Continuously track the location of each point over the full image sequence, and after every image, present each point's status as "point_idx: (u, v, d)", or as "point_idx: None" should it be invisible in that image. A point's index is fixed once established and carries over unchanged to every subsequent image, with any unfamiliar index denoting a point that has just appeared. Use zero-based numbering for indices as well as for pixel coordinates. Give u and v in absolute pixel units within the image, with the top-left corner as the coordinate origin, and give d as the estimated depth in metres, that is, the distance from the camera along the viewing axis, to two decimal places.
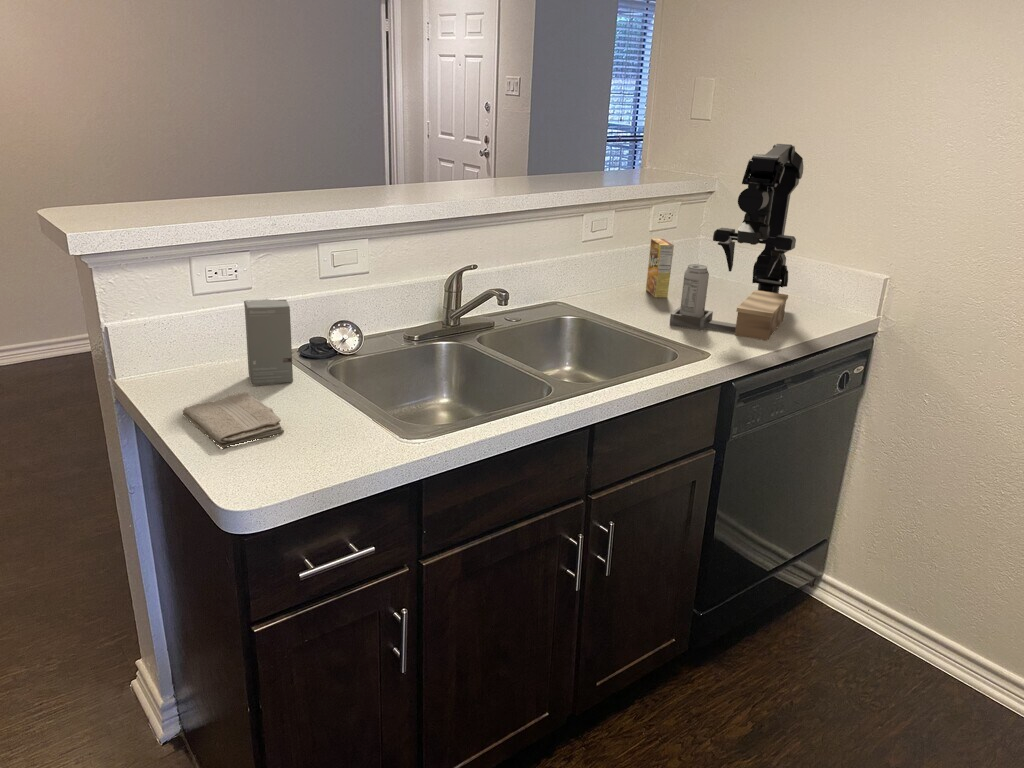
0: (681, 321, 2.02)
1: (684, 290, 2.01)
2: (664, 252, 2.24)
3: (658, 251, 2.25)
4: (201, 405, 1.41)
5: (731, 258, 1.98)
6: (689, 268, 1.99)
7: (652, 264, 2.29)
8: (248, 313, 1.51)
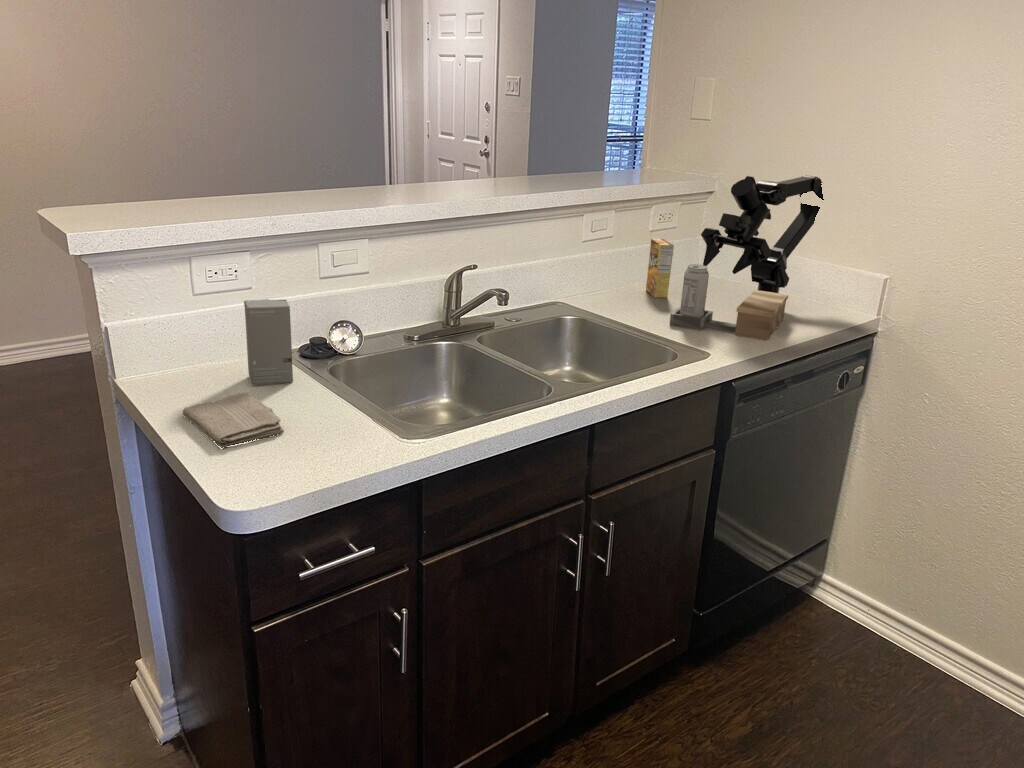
0: (681, 321, 2.02)
1: (684, 290, 2.01)
2: (664, 252, 2.24)
3: (658, 251, 2.25)
4: (201, 405, 1.41)
5: (709, 255, 2.09)
6: (689, 268, 1.99)
7: (652, 264, 2.29)
8: (248, 313, 1.51)
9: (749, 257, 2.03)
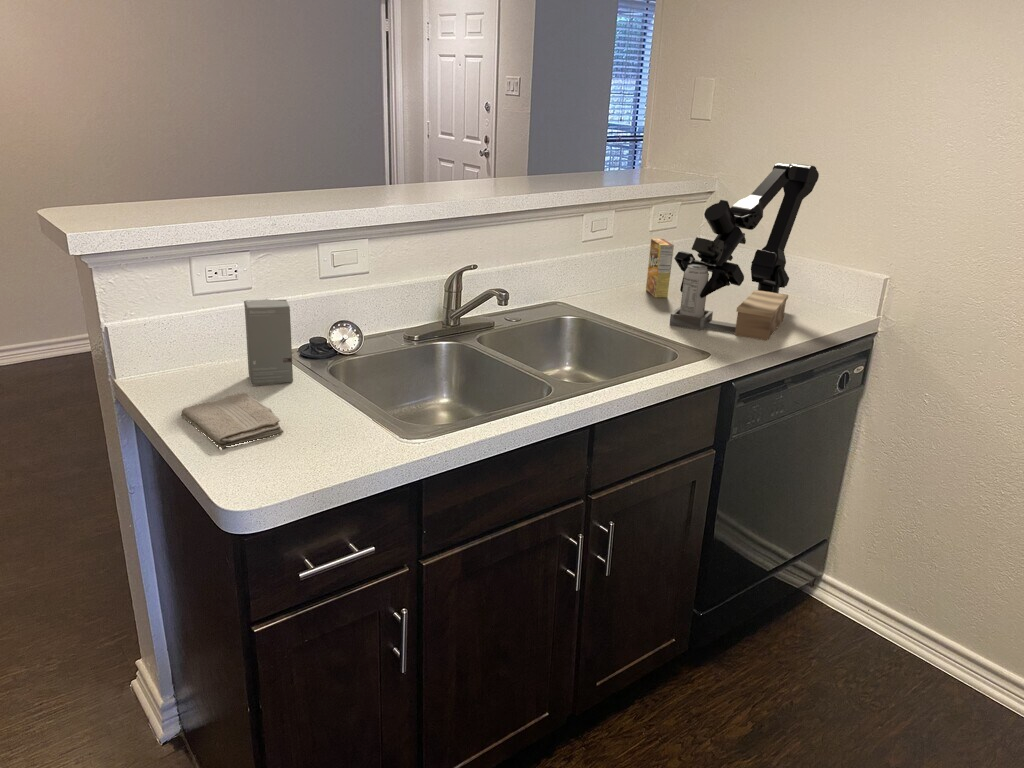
0: (681, 321, 2.02)
1: (684, 290, 2.01)
2: (664, 252, 2.24)
3: (658, 251, 2.25)
4: (200, 405, 1.41)
5: None
6: (689, 268, 1.99)
7: (652, 264, 2.29)
8: (248, 313, 1.51)
9: (717, 281, 2.00)
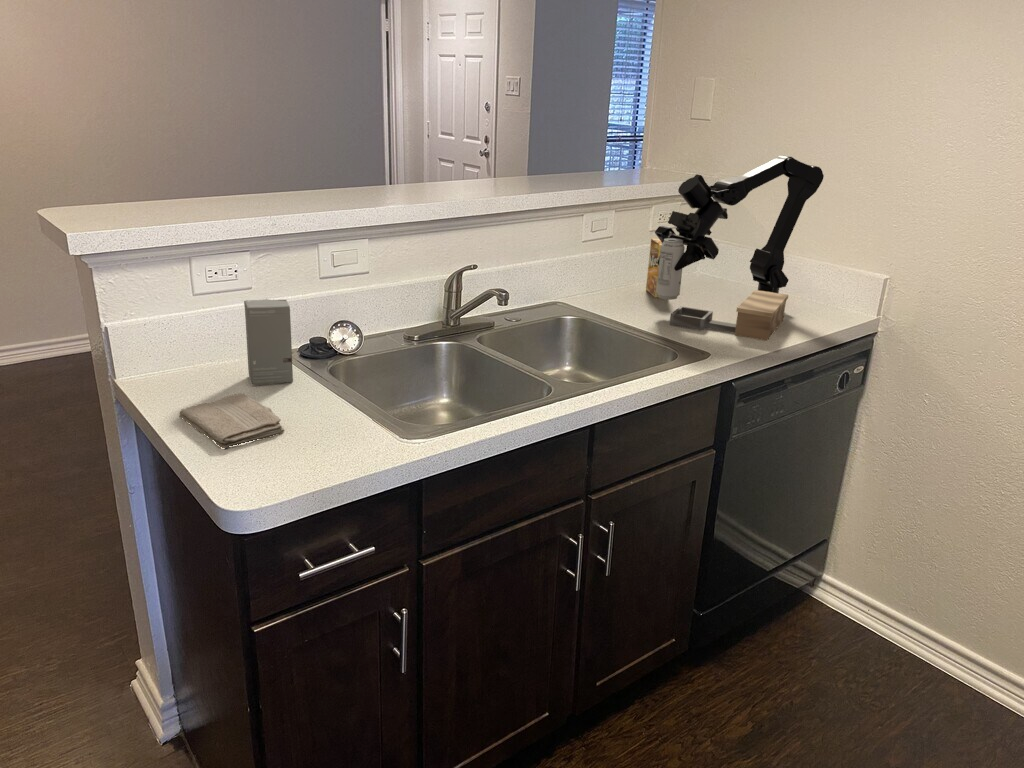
0: (681, 321, 2.02)
1: (660, 263, 2.05)
2: None
3: (658, 251, 2.25)
4: (198, 406, 1.41)
5: None
6: (664, 241, 2.03)
7: (652, 264, 2.29)
8: (248, 313, 1.51)
9: (692, 254, 2.03)
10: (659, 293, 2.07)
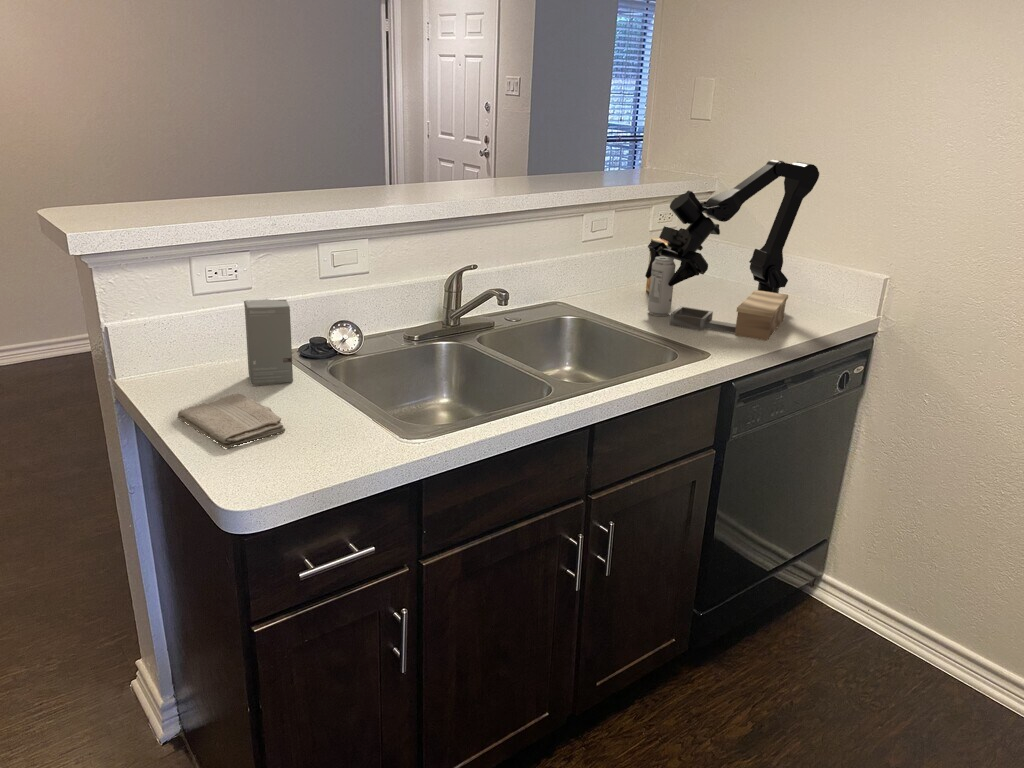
0: (681, 321, 2.02)
1: (651, 281, 2.09)
2: None
3: None
4: (197, 407, 1.40)
5: None
6: (655, 259, 2.07)
7: None
8: (248, 313, 1.51)
9: (686, 270, 2.05)
10: (650, 310, 2.11)
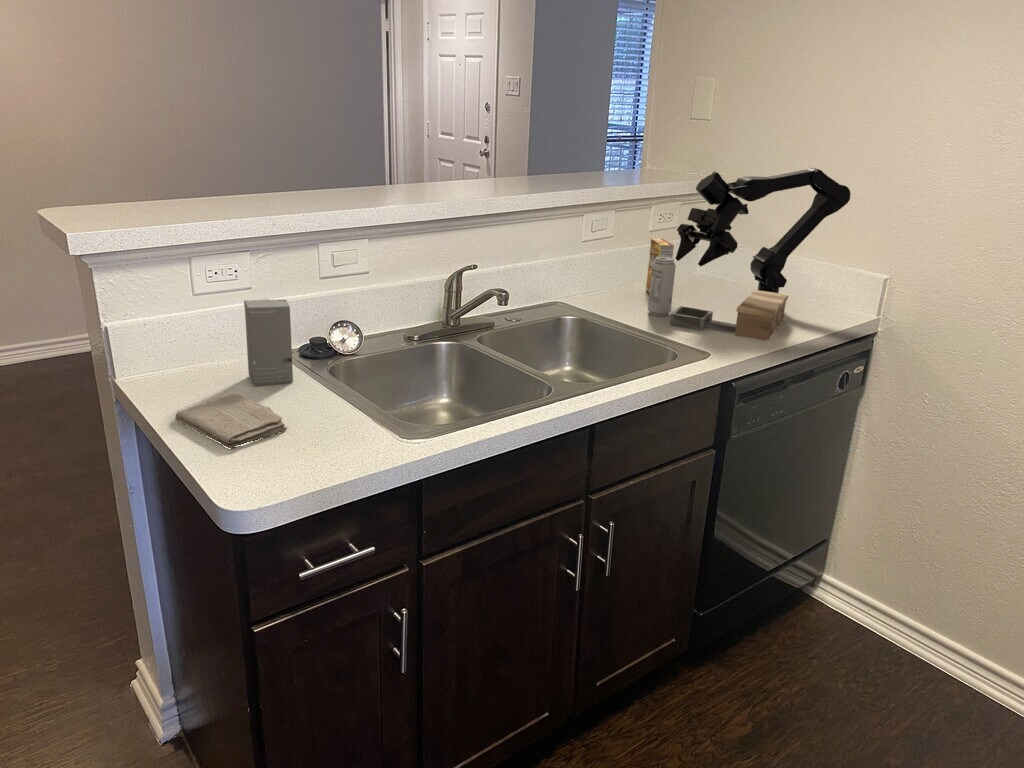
0: (681, 321, 2.02)
1: (651, 281, 2.09)
2: (664, 252, 2.24)
3: (658, 251, 2.25)
4: (195, 408, 1.40)
5: (683, 249, 2.15)
6: (655, 259, 2.07)
7: None
8: (248, 313, 1.51)
9: (716, 250, 2.07)
10: (650, 310, 2.11)
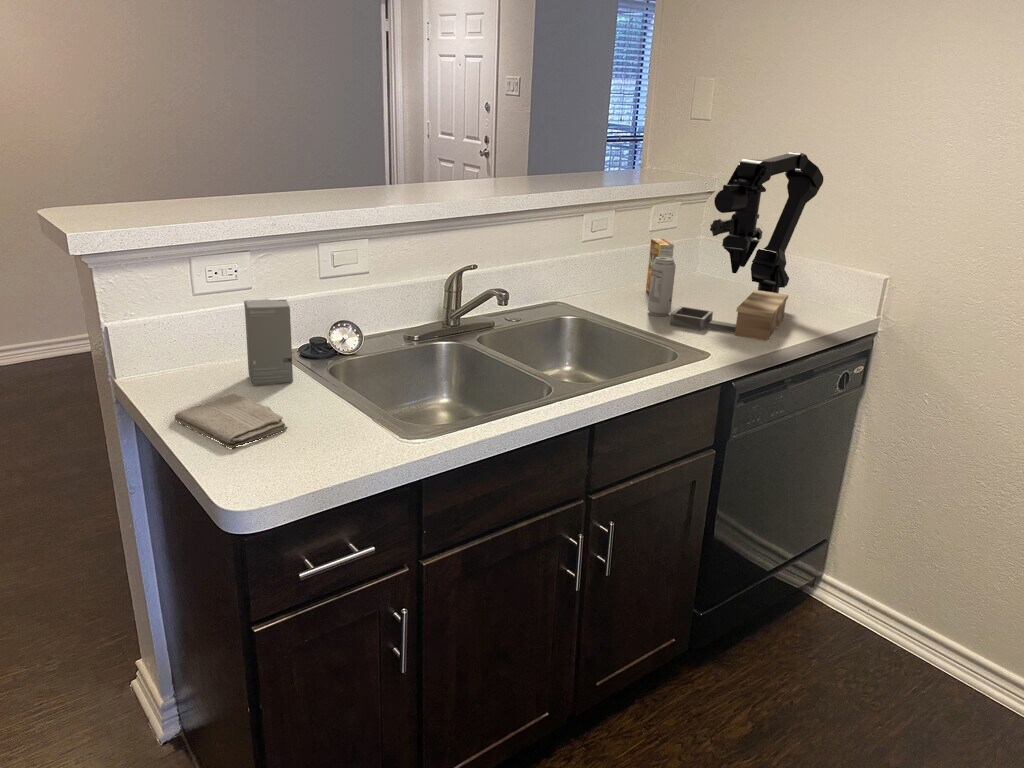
0: (681, 321, 2.02)
1: (651, 281, 2.09)
2: (664, 252, 2.24)
3: (658, 251, 2.25)
4: (194, 408, 1.40)
5: None
6: (655, 259, 2.07)
7: None
8: (248, 313, 1.51)
9: (738, 252, 2.04)
10: (650, 310, 2.11)
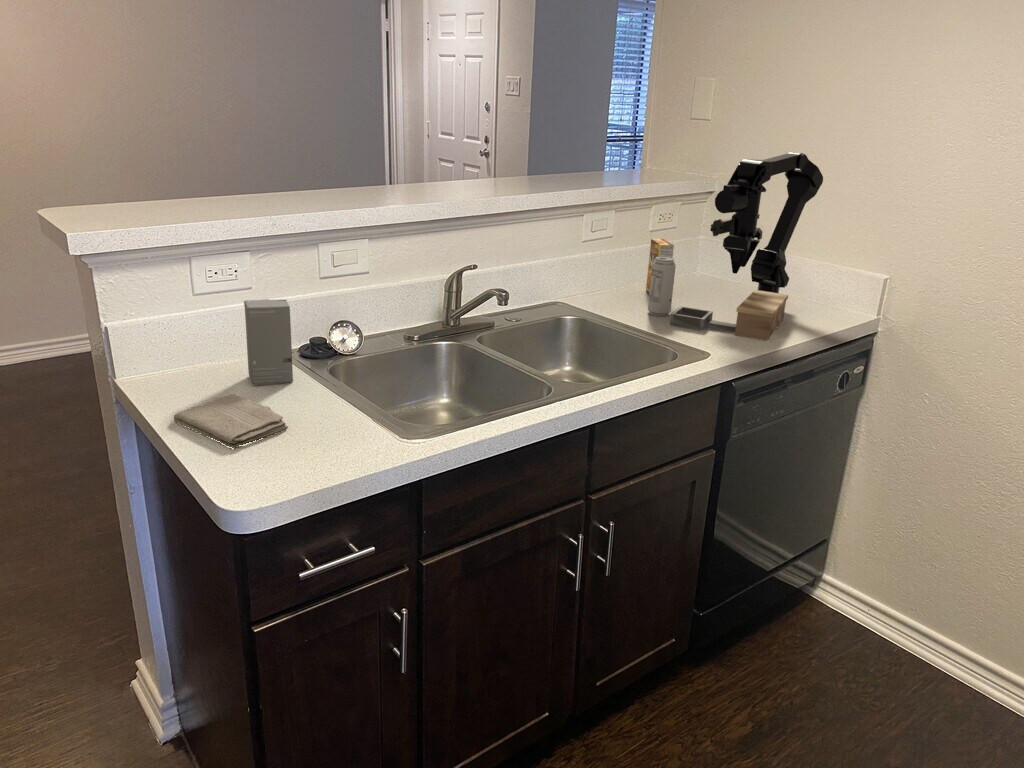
0: (681, 321, 2.02)
1: (651, 281, 2.09)
2: (664, 252, 2.24)
3: (658, 251, 2.25)
4: (193, 409, 1.40)
5: None
6: (655, 259, 2.07)
7: None
8: (248, 313, 1.51)
9: (738, 252, 2.04)
10: (650, 310, 2.11)
